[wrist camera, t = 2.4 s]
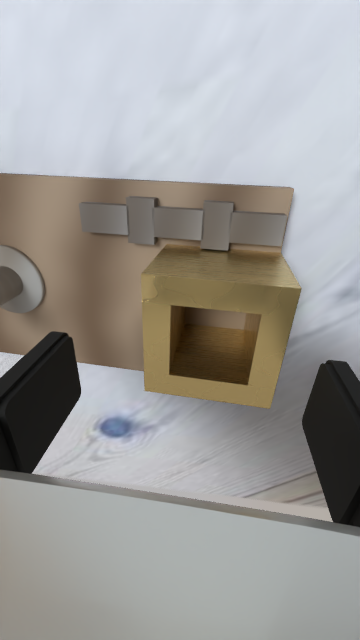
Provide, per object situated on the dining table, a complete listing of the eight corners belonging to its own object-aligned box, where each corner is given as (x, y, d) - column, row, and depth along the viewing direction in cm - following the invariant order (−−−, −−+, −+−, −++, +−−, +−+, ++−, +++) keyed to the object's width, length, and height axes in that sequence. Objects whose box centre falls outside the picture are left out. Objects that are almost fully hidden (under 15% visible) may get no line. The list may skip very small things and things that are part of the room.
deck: (289, 187, 14) (347, 206, 7) (251, 374, 20) (262, 489, 13) (-62, 170, 17) (-282, 171, 9) (-5, 341, 22) (-115, 422, 15)
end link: (280, 252, 15) (301, 288, 10) (260, 348, 17) (269, 408, 13) (166, 243, 15) (140, 273, 11) (165, 337, 18) (144, 390, 14)
